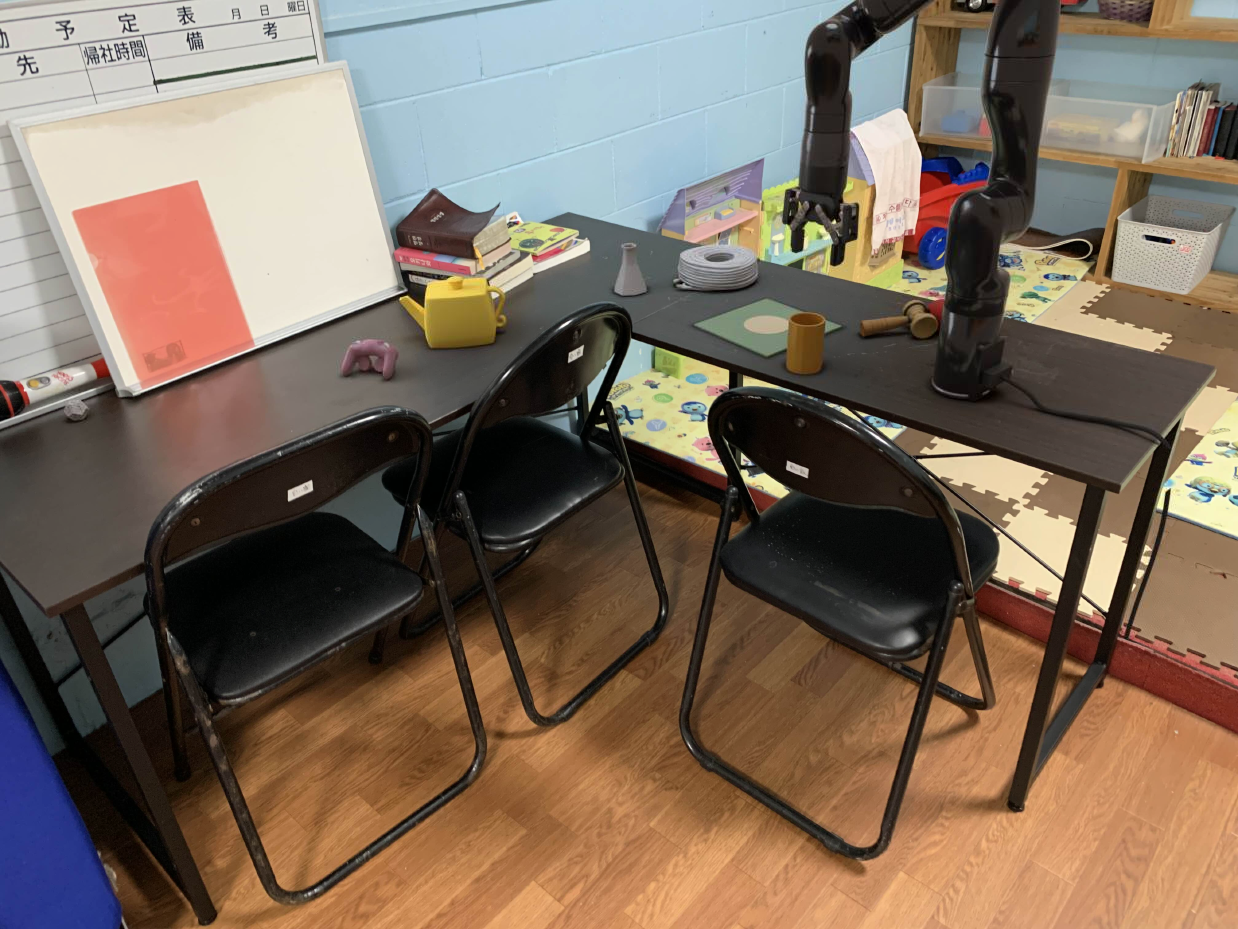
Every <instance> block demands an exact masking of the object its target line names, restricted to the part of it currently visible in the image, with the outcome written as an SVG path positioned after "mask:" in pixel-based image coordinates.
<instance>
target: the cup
mask: <svg viewBox="0 0 1238 929" xmlns="http://www.w3.org/2000/svg"><path fill="white" fill-rule="evenodd" d="M826 320H827V319H826V317H824V315H822V314H819V313H816V312H811V311H808V312H805V311H802V313H796V314H793V315H791V316H790V317H789V320H788V338H787V350H786V357H785V368H786V369H787V370H788V371H790V372H791V373H794V374H798V375H813V374H816V373H818V372H820V371H821V370H822V369H823V361H824V349H825V348H824V346H825V335H826V334H825V322H826Z"/></svg>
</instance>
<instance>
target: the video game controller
mask: <svg viewBox="0 0 1238 929" xmlns="http://www.w3.org/2000/svg"><path fill="white" fill-rule="evenodd" d="M372 356H373V357H377V358H376V359H375V361H374V363H373V361H372V358H371V357H372ZM398 359H399V351H398V349H397V347H396V346H394V345H392V344H390V343H388V342H386V341H383V340H379V339H373V338H372V339H371V338H370V339H362V340H356V341H353V342H352V343H351V344H350V346H349V347H348V348H347V351H346V353H345V357H344V359H343V362H342V365H341V372H342V375H343V376H344V377H347V376H349V375H351V373H352V372H353V370H354V369H355V367H356V364H357V365H358V367H359V369H360V370H361V371H369V370H371V369H372V368H374V370H375V371H376V372H380V373H382V376H383V378H384V380H389V379H391V377H392V376H393V374H394V372H395V369H396V365H397V364H396V363H397V360H398Z"/></svg>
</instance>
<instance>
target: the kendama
mask: <svg viewBox="0 0 1238 929" xmlns="http://www.w3.org/2000/svg"><path fill="white" fill-rule="evenodd" d="M944 300H945V298H944V299H943V298H941V299H940V298H939V299H936V300H934V301H931V302H930V303H929V304H928V305H927V306H926V304H925V303H924V302H923V301H922V300H919V299H913V300H910V301H908V302H906V304H905V305H904V306H903V307H902V310H901V314H902V316H892V317H891V316H889V317H883V318H882V317H881V318H875V319H865V320H860V322H859V331H860V334H861V336H862V337H869V336H871V335H875V334H878V333H883V332H886V331H887V332H888V331H891V330H894V329H895V330H896V329H898V328H901V327H904V326H908V325H910V326H909V327H910V332H911V333H912V335H913V336H914V337H916V338H918V339H926V338H929V337H931V336H932V335H935V333H936V332H940V326H941V320H942V313H943V306H944Z"/></svg>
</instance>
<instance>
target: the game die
mask: <svg viewBox="0 0 1238 929" xmlns="http://www.w3.org/2000/svg"><path fill="white" fill-rule="evenodd" d="M89 410H90V408H89V407H88V406H87V405H86V403H85V402H83V401H82V400H81V399H79V398H78V399H71V400H69V401H68V402H66V403H65V406H64V409H63V413H64V414H65V415H66V416H67V417H68V418H69V419H70V420H72V421H73V422H75V421H83V420H84V419H85V418H86V417H87V416H88V413H89Z"/></svg>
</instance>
